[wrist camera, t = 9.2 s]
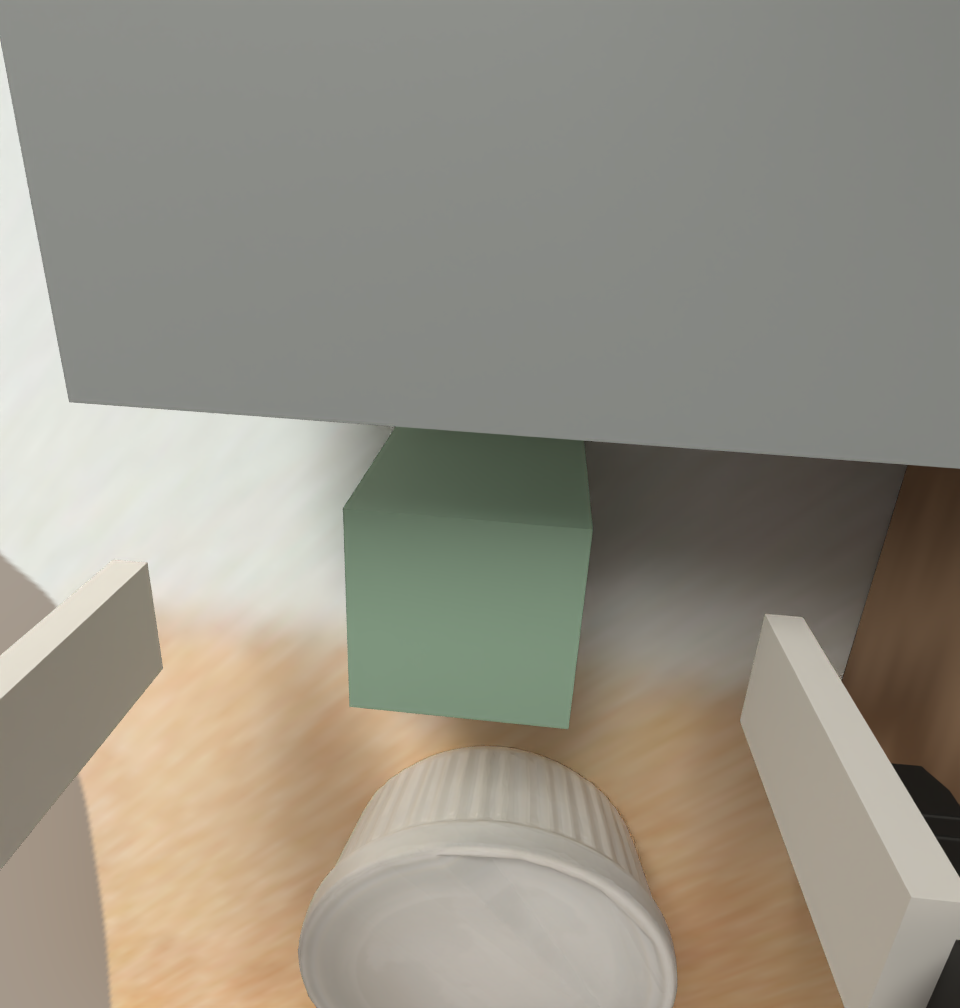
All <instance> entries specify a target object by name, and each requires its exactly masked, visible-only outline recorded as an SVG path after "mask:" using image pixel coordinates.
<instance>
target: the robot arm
mask: <svg viewBox="0 0 960 1008" xmlns="http://www.w3.org/2000/svg"><path fill="white" fill-rule="evenodd" d="M162 669H163V665H162V658H161V651H160V644H159V638H158V631H157V624H156V617H155V611H154V604H153V597H152V590H151V584H150V577H149V570H148V563H147V562H135V561H123V560H112V561H111V562H110V563H109V564H108V565H106V566H105V567H104V568H103V569H102V570H100V571H99V572H98V573H97V574H96V575H95V576H93V577H92V578H91V579H90V580H89V581H87V582H86V583H85V584H84V585H83V586H82V587H80V588H79V589H78V590H77V591H76V592H75V593H73V594H72V595H71V596H70V597H69V598H67V599H66V600H65V601H64V602H63V603H62V604H60V605H59V606H58V607H57V608H56V609H54V610H53V611H52V612H51V613H50V614H49V615H47V616H46V617H45V618H44V619H43V620H42V621H40V622H39V623H38V624H37V625H36V626H35V627H33V628H32V629H31V630H30V631H29V632H27V633H26V634H25V635H24V636H23V637H21V638H20V639H19V640H18V641H17V642H16V643H14V644H13V645H12V646H11V647H10V648H9V649H7V650H6V651H5V652H4V653H3V654H2V655H0V870H1V869H2V868H3V866H4V865H5V864H6V863H7V861H8V860H9V859H10V857H11V856H12V855H13V854H14V853H15V851H16V850H17V849H18V848H19V847H20V845H21V844H22V843H23V842H24V840H25V839H26V838H27V836H28V835H29V834H30V833H31V832H32V830H33V829H34V828H35V827H36V825H37V824H38V823H39V822H40V820H41V819H42V818H43V817H44V815H45V814H46V813H47V812H48V810H49V809H50V808H51V806H52V805H53V804H54V803H55V802H56V801H57V799H58V798H59V797H60V796H61V794H62V793H63V792H64V791H65V789H66V788H67V787H68V786H69V784H70V783H71V782H72V781H73V779H74V778H75V777H76V776H77V775H78V773H79V772H80V771H81V770H82V768H83V767H84V766H85V765H86V763H87V762H88V761H89V760H90V758H91V757H92V756H93V755H94V753H95V752H96V751H97V750H98V748H99V747H100V746H101V745H102V743H103V742H104V741H105V740H106V738H107V737H108V736H109V735H110V734H111V732H112V731H113V730H114V729H115V727H116V726H117V725H118V724H119V722H120V721H121V720H122V719H123V717H124V716H125V715H126V714H127V712H128V711H129V710H130V709H131V707H132V706H133V705H134V704H135V702H136V701H137V700H138V699H139V697H140V696H141V695H142V694H143V693H144V691H145V690H146V689H147V688H148V686H149V685H150V684H151V683H152V681H153V680H154V679H155V678H156V676H157V675H158V674H159V673H160V671H161V670H162ZM740 723H741V726H742V728H743V731H744V734H745V736H746V739H747V742H748V745H749V747H750V750H751V753H752V756H753V758H754V761H755V764H756V767H757V769H758V772H759V775H760V778H761V780H762V783H763V786H764V789H765V791H766V794H767V797H768V799H769V802H770V805H771V808H772V810H773V813H774V816H775V819H776V821H777V824H778V827H779V830H780V832H781V835H782V838H783V841H784V843H785V846H786V849H787V852H788V854H789V857H790V860H791V862H792V865H793V868H794V871H795V873H796V876H797V879H798V882H799V884H800V887H801V890H802V893H803V895H804V898H805V901H806V904H807V906H808V909H809V912H810V915H811V917H812V920H813V923H814V926H815V928H816V931H817V934H818V936H819V939H820V942H821V945H822V947H823V950H824V953H825V956H826V958H827V961H828V964H829V967H830V969H831V972H832V975H833V978H834V980H835V983H836V986H837V989H838V991H839V994H840V997H841V999H842V1002H843V1005H844V1008H960V805H959V804H958V802H957V801H956V799H955V798H954V796H953V795H952V793H951V792H950V790H949V789H947V788H946V787H945V786H944V785H943V784H942V783H940V782H939V781H938V780H937V779H936V778H935V777H933V776H932V775H931V774H930V773H929V772H928V771H926V770H925V769H924V768H923V767H922V766H916V765H905V764H894V763H890V761H889V759H888V758H887V756H886V754H885V753H884V751H883V749H882V748H881V746H880V744H879V743H878V741H877V739H876V738H875V736H874V734H873V733H872V731H871V729H870V728H869V726H868V724H867V723H866V721H865V719H864V718H863V716H862V715H861V713H860V711H859V710H858V708H857V706H856V705H855V703H854V701H853V700H852V698H851V696H850V695H849V693H848V691H847V690H846V688H845V686H844V685H843V683H842V681H841V680H840V678H839V676H838V675H837V673H836V671H835V670H834V668H833V666H832V665H831V663H830V661H829V660H828V658H827V656H826V655H825V653H824V651H823V650H822V648H821V646H820V645H819V643H818V641H817V640H816V638H815V636H814V635H813V633H812V631H811V630H810V628H809V626H808V625H807V623H806V622H805V620H804V618H803V617H797V616H785V615H773V614H765V615H764V619H763V624H762V628H761V632H760V637H759V641H758V645H757V650H756V654H755V658H754V662H753V667H752V671H751V675H750V680H749V684H748V688H747V693H746V697H745V701H744V706H743V710H742V714H741V718H740Z"/></svg>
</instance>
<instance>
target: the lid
mask: <svg viewBox="0 0 960 1008" xmlns="http://www.w3.org/2000/svg"><path fill="white" fill-rule="evenodd" d="M0 41H1V46H2V51H3V56H4V62H5V67H6V72H7V77H8V83H9V88H10V93H11V99H12V104H13V109H14V114H15V120H16V125H17V130H18V135H19V141H20V146H21V151H22V156H23V162H24V167H25V172H26V177H27V183H28V188H29V193H30V199H31V204H32V209H33V214H34V220H35V225H36V230H37V235H38V241H39V246H40V251H41V256H42V262H43V267H44V272H45V277H46V283H47V288H48V293H49V298H50V304H51V309H52V314H53V320H54V325H55V330H56V335H57V341H58V346H59V351H60V356H61V362H62V367H63V372H64V377H65V383H66V388H67V393H68V398H69V402H74V403H87V404H101V405H114V406H128V407H141V408H154V409H168V410H181V411H195V412H208V413H221V414H235V415H248V416H262V417H275V418H288V419H302V420H315V421H329V422H342V423H355V424H369V425H382V426H395V427H409V428H422V429H436V430H449V431H462V432H476V433H489V434H503V435H516V436H529V437H543V438H556V439H570V440H583V441H596V442H610V443H623V444H637V445H650V446H663V447H677V448H690V449H704V450H717V451H730V452H744V453H757V454H770V455H784V456H797V457H811V458H824V459H837V460H851V461H864V462H878V463H891V464H904V465H918V466H931V467H945V468H958V469H960V0H0Z"/></svg>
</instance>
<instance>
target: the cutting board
mask: <svg viewBox="0 0 960 1008" xmlns="http://www.w3.org/2000/svg"><path fill="white" fill-rule="evenodd" d="M842 683H843V685H844V686H845V688H846V690H847V691H848V693H849V695H850V696H851V698H852V700H853V701H854V703H855V705H856V706H857V708H858V710H859V711H860V713H861V715H862V716H863V718H864V719H865V721H866V723H867V724H868V726H869V728H870V729H871V731H872V733H873V734H874V736H875V738H876V739H877V741H878V743H879V744H880V746H881V748H882V749H883V751H884V753H885V754H886V756H887V758H888V759H889V761H890V763H894V764H905V765H916V766H922V767H923V768H924V769H925V770H926V771H928V772H929V773H930V774H931V775H932V776H933V777H935V778H936V779H937V780H938V781H939V782H940V783H942V784H943V785H944V786H945V787H946V788H947V789H949V790H950V792H951V793H952V795H953V796H954V798H955V799H956V801H957V802H958V804H959V805H960V469H958V468H945V467H931V466H918V465H908V466H907V469H906V472H905V475H904V479H903V482H902V485H901V489H900V492H899V495H898V498H897V502H896V505H895V508H894V512H893V515H892V518H891V521H890V525H889V528H888V531H887V535H886V538H885V541H884V544H883V548H882V551H881V554H880V558H879V561H878V564H877V567H876V571H875V574H874V577H873V580H872V584H871V587H870V590H869V594H868V597H867V600H866V603H865V607H864V610H863V613H862V617H861V620H860V623H859V626H858V630H857V633H856V636H855V640H854V643H853V646H852V649H851V653H850V656H849V659H848V663H847V666H846V669H845V672H844V676H843V679H842Z"/></svg>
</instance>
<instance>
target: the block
mask: <svg viewBox="0 0 960 1008" xmlns="http://www.w3.org/2000/svg"><path fill="white" fill-rule="evenodd" d="M343 522H344V552H345V583H346V613H347V644H348V674H349V705H350V707H358V708H367V709H377V710H387V711H396V712H406V713H416V714H426V715H435V716H445V717H455V718H464V719H474V720H484V721H494V722H503V723H513V724H523V725H532V726H542V727H552V728H562V729H568V728H569V720H570V712H571V704H572V696H573V688H574V679H575V671H576V663H577V655H578V647H579V639H580V631H581V622H582V614H583V606H584V598H585V590H586V582H587V574H588V565H589V557H590V549H591V541H592V533H593V525H592V515H591V505H590V495H589V485H588V475H587V465H586V455H585V445H584V441H583V440H570V439H556V438H543V437H529V436H516V435H503V434H489V433H476V432H462V431H449V430H436V429H422V428H409V427H395V429H394V430H393V432H392V433H391V435H390V437H389V438H388V440H387V441H386V443H385V444H384V446H383V447H382V449H381V451H380V452H379V454H378V455H377V457H376V458H375V460H374V461H373V463H372V464H371V466H370V468H369V469H368V471H367V472H366V474H365V475H364V477H363V478H362V480H361V481H360V483H359V485H358V486H357V488H356V489H355V491H354V492H353V494H352V495H351V497H350V499H349V500H348V502H347V503H346V505H345V506H344V508H343Z"/></svg>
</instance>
